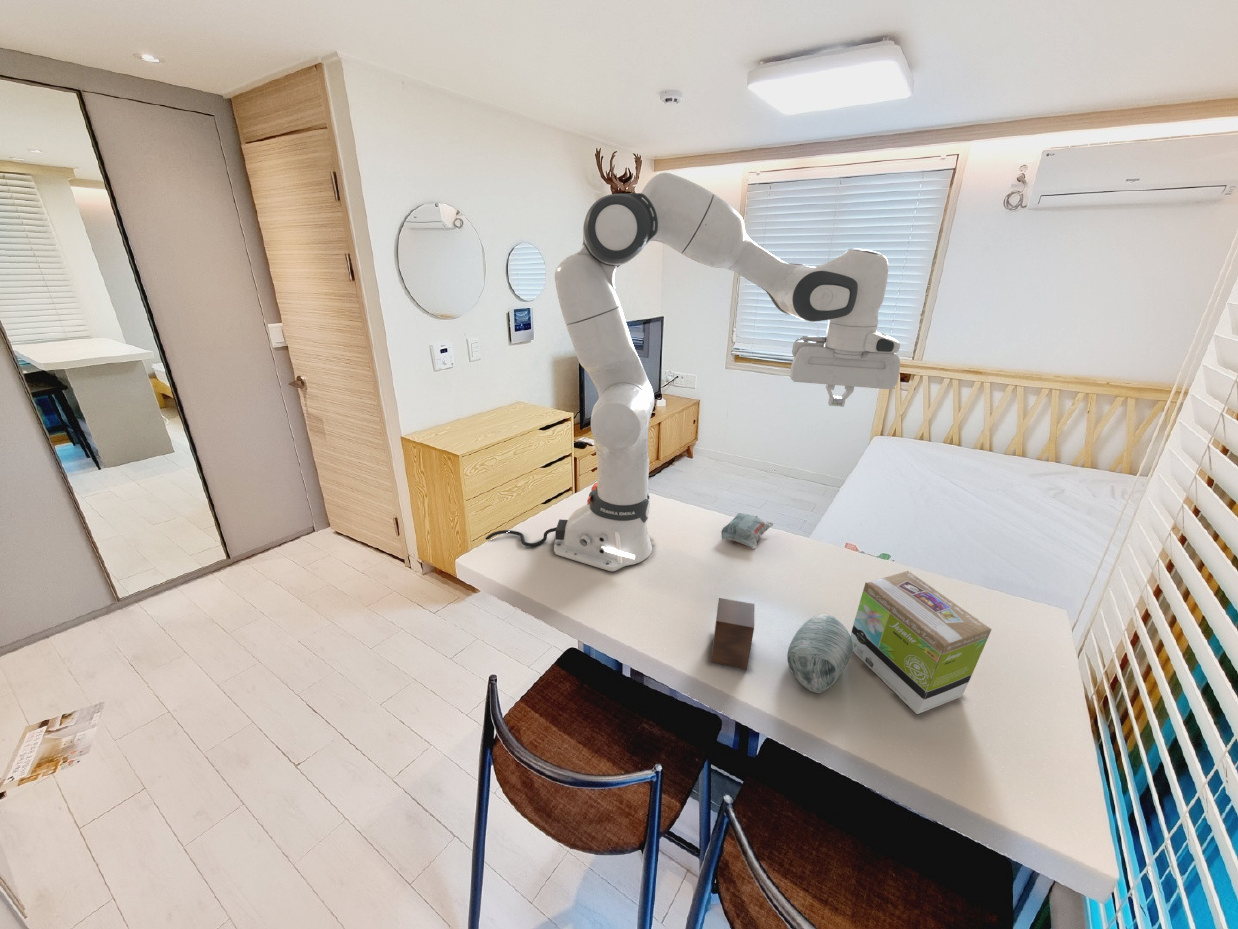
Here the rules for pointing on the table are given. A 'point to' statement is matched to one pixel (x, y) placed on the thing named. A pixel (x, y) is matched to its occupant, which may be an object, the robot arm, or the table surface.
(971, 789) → the table surface
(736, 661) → the walnut block
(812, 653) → the spool
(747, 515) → the packaged food
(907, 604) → the tea box
